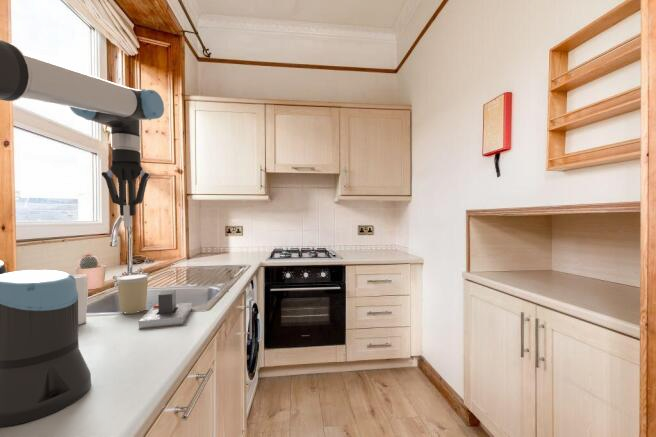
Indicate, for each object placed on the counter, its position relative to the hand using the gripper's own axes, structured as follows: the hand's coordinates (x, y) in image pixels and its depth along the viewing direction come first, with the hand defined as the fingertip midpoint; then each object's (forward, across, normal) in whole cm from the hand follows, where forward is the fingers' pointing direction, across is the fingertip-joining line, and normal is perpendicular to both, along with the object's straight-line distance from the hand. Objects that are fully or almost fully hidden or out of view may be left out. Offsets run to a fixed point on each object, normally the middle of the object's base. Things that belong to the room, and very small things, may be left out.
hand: (128, 226), depth 95 cm
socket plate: (+30, -10, -2) cm, 32 cm away
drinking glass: (+31, +17, -5) cm, 35 cm away
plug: (+30, -10, -2) cm, 32 cm away
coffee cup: (+31, +4, -15) cm, 34 cm away
